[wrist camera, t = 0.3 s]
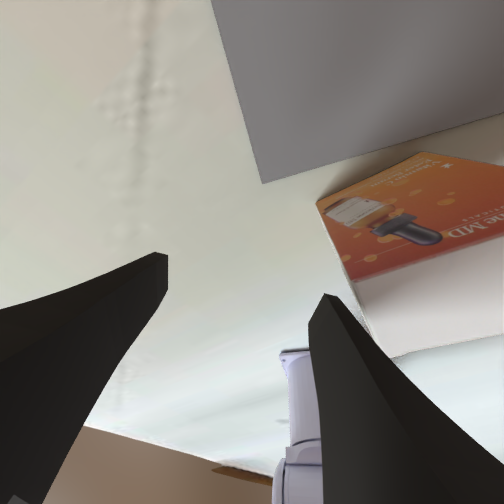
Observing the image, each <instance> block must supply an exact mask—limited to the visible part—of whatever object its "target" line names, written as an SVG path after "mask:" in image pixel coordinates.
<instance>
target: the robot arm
mask: <svg viewBox="0 0 504 504" xmlns="http://www.w3.org/2000/svg"><path fill="white" fill-rule="evenodd" d="M167 290H168V255H165V254H161V253H157V252H153V253H151V254H148V255H146V256H144V257H142V258H139V259H137V260H135V261H133V262H131V263H128V264H126V265H124V266H122V267H119V268H117V269H115V270H113V271H110V272H108V273H106V274H103V275H101V276H98V277H96V278H93V279H91V280H88V281H86V282H83V283H81V284H78V285H76V286H73V287H71V288H68V289H65V290H62V291H59V292H56V293H53V294H50V295H47V296H44V297H41V298H38V299H35V300H32V301H29V302H25V303H22V304H18V305H14V306H11V307H7V308H4V309H0V504H42V503H43V501H44V499H45V497H46V495H47V493H48V491H49V489H50V487H51V485H52V483H53V481H54V479H55V477H56V475H57V474H58V472H59V469H60V467H61V466H62V464H63V462H64V460H65V458H66V456H67V454H68V452H69V450H70V448H71V446H72V445H73V443H74V441H75V439H76V437H77V435H78V433H79V432H80V430H81V428H82V426H83V424H84V422H85V421H86V419H87V417H88V415H89V413H90V412H91V410H92V408H93V406H94V405H95V403H96V401H97V399H98V398H99V396H100V394H101V392H102V391H103V389H104V387H105V385H106V384H107V382H108V380H109V379H110V377H111V375H112V374H113V372H114V370H115V369H116V367H117V365H118V364H119V362H120V361H121V359H122V358H123V356H124V355H125V353H126V352H127V350H128V349H129V348H130V346H131V345H132V344H133V342H134V341H135V339H136V338H137V337H138V335H139V334H140V332H141V331H142V330H143V328H144V327H145V326H146V324H147V323H148V321H149V320H150V319H151V317H152V316H153V314H154V313H155V311H156V310H157V309H158V307H159V305H160V303H161V301H162V300H163V298H164V296H165V294H166V292H167ZM308 336H309V349H310V351H302V352H290V353H281V354H280V355H279V359H280V361H281V364H282V366H283V369H284V371H285V374H286V376H287V379H288V397H289V424H290V447H286V458H282V459H281V460H280V462H279V464H278V466H277V468H276V470H275V474H274V479H273V489H272V504H504V464H502V463H501V462H500V461H499V460H498V459H496V458H495V457H494V456H493V455H491V454H490V453H489V452H488V451H487V450H485V449H484V448H483V447H482V446H481V445H480V444H478V443H477V442H476V441H475V440H474V439H473V438H472V437H470V436H469V435H468V434H467V433H466V432H465V431H463V430H462V429H461V428H460V427H459V426H458V425H457V424H456V423H455V422H454V421H452V420H451V419H450V418H449V417H448V416H447V415H446V414H445V413H444V412H442V411H441V410H440V409H439V408H438V407H437V406H436V405H435V404H434V403H433V402H432V401H431V400H430V399H429V398H427V397H426V396H425V395H424V394H423V393H422V392H421V391H420V390H419V389H418V388H417V387H416V386H415V385H414V384H413V383H412V382H411V381H410V380H409V379H408V378H407V377H406V376H405V375H404V374H403V372H402V371H401V370H400V369H399V368H398V367H397V366H396V365H395V364H394V363H393V362H392V361H391V360H390V358H389V357H388V356H387V355H386V354H385V353H384V352H383V351H382V350H381V348H380V347H379V346H378V345H377V344H376V343H375V341H374V340H373V339H372V338H371V337H370V335H369V334H368V333H367V332H366V331H365V329H364V328H363V327H362V326H361V324H360V323H359V322H358V321H357V320H356V318H355V317H354V316H353V315H352V313H351V312H350V311H349V310H348V308H347V307H346V306H345V305H344V303H343V302H342V301H341V300H340V299H339V298H338V297H337V296H333V295H329V294H325V293H324V295H323V297H322V299H321V301H320V302H319V304H318V306H317V308H316V310H315V312H314V314H313V316H312V317H311V319H310V321H309V323H308Z"/></svg>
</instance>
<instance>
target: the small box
mask: <svg viewBox="0 0 504 504" xmlns="http://www.w3.org/2000/svg"><path fill="white" fill-rule="evenodd" d="M315 206H316V209H317V211H318V214H319V217H320V219H321V222H322V224H323V227H324V229H325V231H326V234H327V236H328V238H329V241H330V243H331V245H332V247H333V250H334V252H335V254H336V257H337V259H338V261H339V263H340V266H341V268H342V270H343V272H344V275H345V277H346V279H347V282H348V284H349V286H350V288H351V291H352V293H353V295H354V297H355V300H356V302H357V304H358V306H359V309H360V311H361V313H362V315H363V318H364V320H365V322H366V324H367V327H368V329H369V331H370V333H371V336H372V338H373V340H374V341H375V343H376V344H377V345H378V346H379V347H380V348H381V350H382V351H383V352H384V353H385V354H386V355H387V356H388V357H389V358H393V357H397V356H401V355H404V354H405V353H408V352H413V351H418V350H423V349H429V348H434V347H439V346H444V345H449V344H455V343H460V342H465V341H470V340H476V339H481V338H486V337H491V336H497V335H502V334H504V166H499V165H494V164H488V163H483V162H478V161H471V160H466V159H461V158H456V157H450V156H444V155H439V154H433V153H428V152H420V153H418V154H416V155H414V156H412V157H410V158H408V159H406V160H405V161H403V162H401V163H399V164H397V165H395V166H393V167H390V168H388V169H386V170H384V171H382V172H380V173H378V174H376V175H374V176H371V177H369V178H367V179H365V180H363V181H361V182H358V183H356V184H354V185H352V186H350V187H348V188H345V189H343V190H341V191H339V192H337V193H335V194H333V195H330V196H328V197H326V198H324V199H322V200H320V201H318V202H316V203H315Z"/></svg>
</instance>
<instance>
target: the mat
mask: <svg viewBox="0 0 504 504" xmlns="http://www.w3.org/2000/svg"><path fill="white" fill-rule="evenodd" d="M211 3H212V7H213V10H214V14H215V17H216V21H217V25H218V28H219V32H220V35H221V39H222V42H223V46H224V49H225V53H226V57H227V60H228V64H229V67H230V71H231V74H232V78H233V82H234V85H235V89H236V92H237V96H238V99H239V103H240V106H241V110H242V114H243V117H244V121H245V124H246V128H247V131H248V135H249V139H250V142H251V146H252V149H253V153H254V156H255V160H256V164H257V167H258V171H259V174H260V178H261V181H262V184H265V183H268V182H271V181H275V180H278V179H281V178H285V177H288V176H291V175H295V174H298V173H301V172H305V171H308V170H312V169H315V168H318V167H322V166H325V165H328V164H332V163H335V162H338V161H342V160H345V159H348V158H352V157H355V156H359V155H362V154H365V153H369V152H372V151H375V150H379V149H382V148H385V147H389V146H392V145H395V144H399V143H402V142H406V141H409V140H412V139H416V138H419V137H422V136H426V135H429V134H432V133H436V132H439V131H442V130H446V129H449V128H452V127H456V126H459V125H463V124H466V123H469V122H473V121H476V120H479V119H483V118H486V117H489V116H493V115H496V114H499V113H503V112H504V0H211Z"/></svg>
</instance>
